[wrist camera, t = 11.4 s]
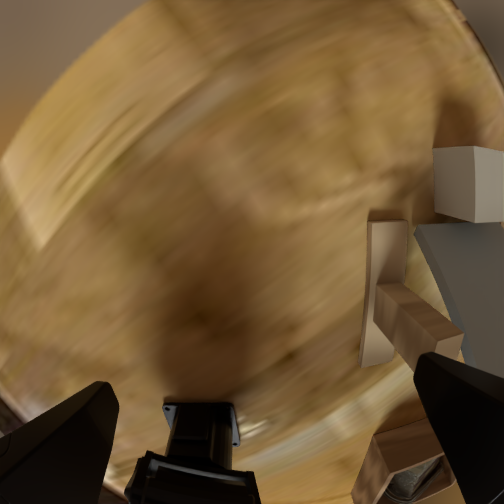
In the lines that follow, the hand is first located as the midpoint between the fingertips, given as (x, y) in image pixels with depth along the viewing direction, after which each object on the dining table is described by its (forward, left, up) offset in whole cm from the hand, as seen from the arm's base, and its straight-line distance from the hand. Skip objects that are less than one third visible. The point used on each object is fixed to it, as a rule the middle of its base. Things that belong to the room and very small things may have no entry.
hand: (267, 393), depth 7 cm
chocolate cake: (-33, -22, -14) cm, 42 cm away
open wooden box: (-30, -20, -13) cm, 38 cm away
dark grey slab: (-6, -17, -9) cm, 20 cm away
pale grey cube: (+2, -17, -11) cm, 20 cm away
